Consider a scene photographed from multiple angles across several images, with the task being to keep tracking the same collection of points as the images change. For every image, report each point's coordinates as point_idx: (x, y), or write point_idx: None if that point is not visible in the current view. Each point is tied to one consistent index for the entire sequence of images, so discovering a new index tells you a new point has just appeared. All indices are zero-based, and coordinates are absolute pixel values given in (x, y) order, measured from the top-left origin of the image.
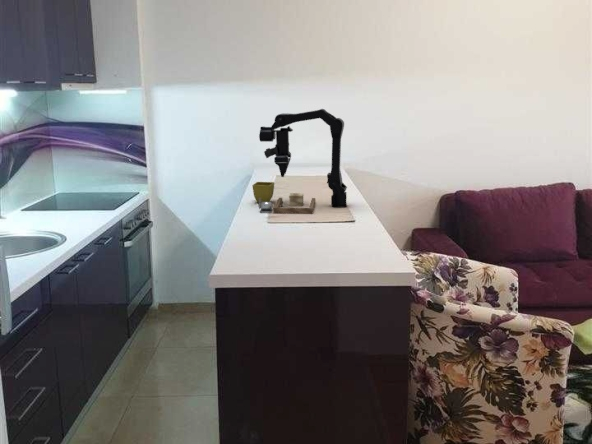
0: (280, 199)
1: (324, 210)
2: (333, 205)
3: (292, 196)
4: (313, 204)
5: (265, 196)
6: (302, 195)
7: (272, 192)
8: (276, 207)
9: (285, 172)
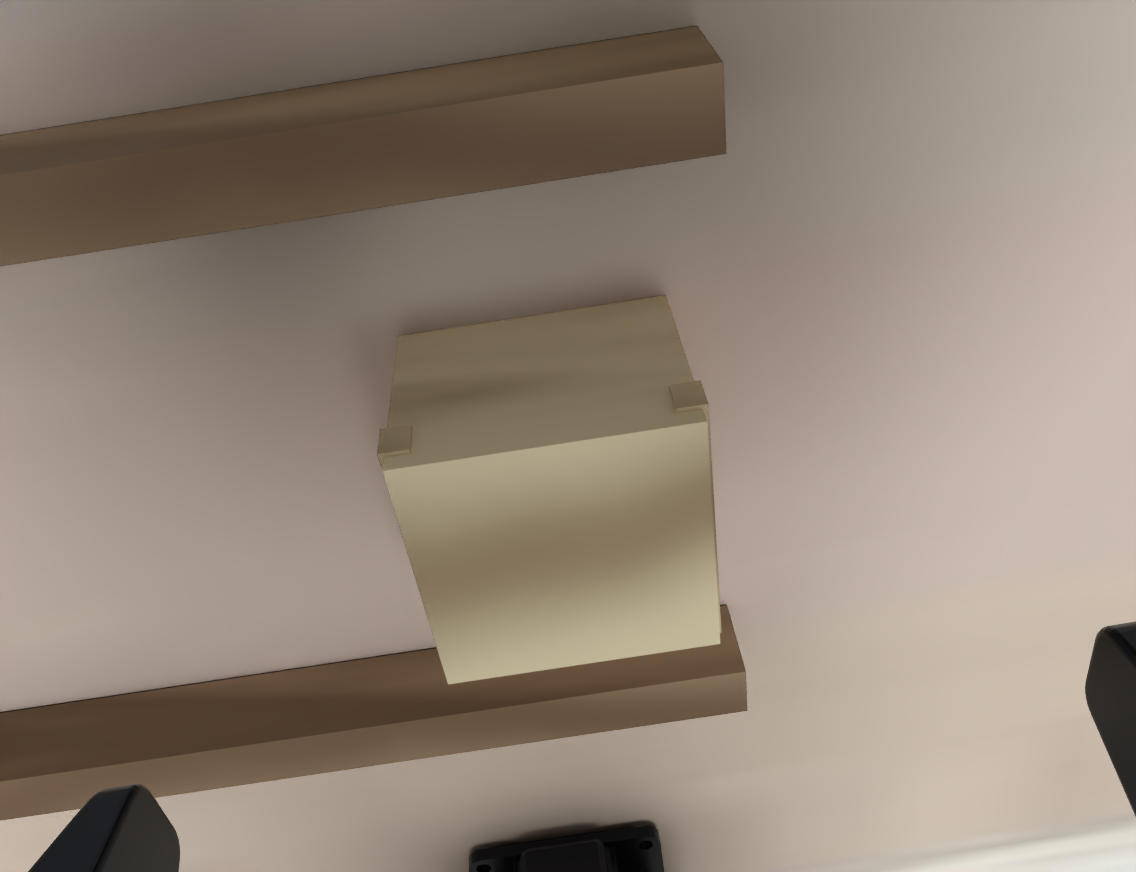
0: (481, 167)
1: (239, 818)
2: (503, 866)
3: (398, 515)
4: (202, 789)
5: None
6: (467, 681)
7: None
8: None
9: (1111, 759)
